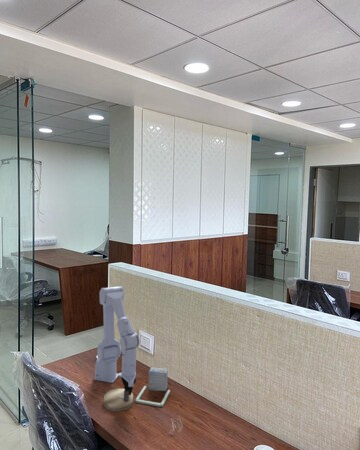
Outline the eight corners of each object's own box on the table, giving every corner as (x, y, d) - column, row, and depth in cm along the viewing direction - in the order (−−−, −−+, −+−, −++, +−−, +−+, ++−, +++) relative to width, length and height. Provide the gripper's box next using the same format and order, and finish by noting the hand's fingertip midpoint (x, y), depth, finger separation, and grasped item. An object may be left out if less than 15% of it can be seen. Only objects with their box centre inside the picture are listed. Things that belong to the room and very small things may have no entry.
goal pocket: (134, 402, 149) (134, 400, 149) (144, 387, 161) (144, 385, 161) (162, 407, 147) (162, 405, 146) (170, 391, 158) (170, 389, 158)
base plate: (98, 407, 144) (98, 407, 144) (111, 391, 156) (111, 391, 156) (126, 413, 141) (126, 412, 141) (137, 396, 153) (137, 396, 153)
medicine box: (167, 386, 162) (167, 368, 162) (165, 391, 158) (166, 373, 157) (150, 385, 163) (150, 366, 162) (148, 390, 159) (148, 371, 158)
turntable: (97, 401, 148) (97, 387, 147) (119, 389, 157) (119, 376, 157) (117, 413, 141) (118, 398, 140) (139, 400, 150) (139, 386, 150)
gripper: (117, 356, 154) (116, 386, 155) (121, 372, 140) (120, 405, 141) (133, 354, 156) (132, 384, 157) (139, 370, 142) (138, 403, 143)
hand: (128, 394), depth 149 cm, fingers closed
